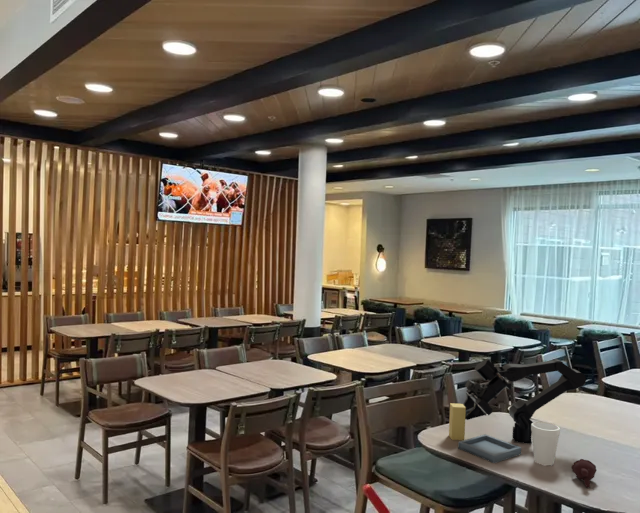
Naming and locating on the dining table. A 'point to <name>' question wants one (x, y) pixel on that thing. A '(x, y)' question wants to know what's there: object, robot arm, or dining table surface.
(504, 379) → the robot arm
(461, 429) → the block
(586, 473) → the icecream
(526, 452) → the dining table surface
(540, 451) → the foam cup
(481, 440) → the tray
